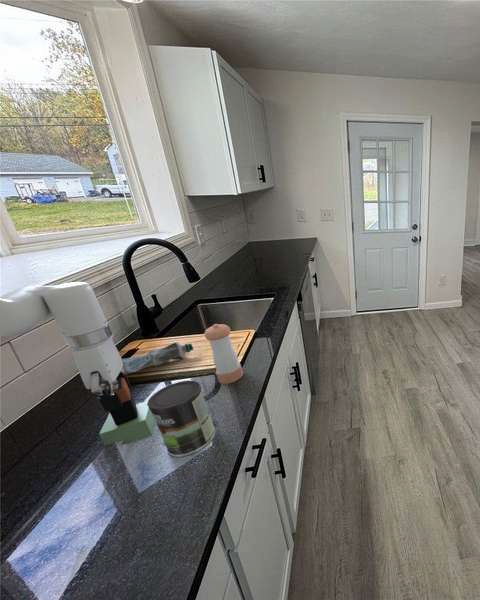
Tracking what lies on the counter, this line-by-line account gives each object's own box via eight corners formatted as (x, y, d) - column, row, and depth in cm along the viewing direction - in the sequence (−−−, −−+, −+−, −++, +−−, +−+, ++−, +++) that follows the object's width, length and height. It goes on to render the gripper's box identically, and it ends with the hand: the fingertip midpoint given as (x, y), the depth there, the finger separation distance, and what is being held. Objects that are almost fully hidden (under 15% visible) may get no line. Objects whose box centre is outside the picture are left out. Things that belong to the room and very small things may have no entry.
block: (107, 450, 76) (98, 434, 74) (117, 426, 83) (110, 411, 82) (152, 435, 80) (145, 419, 78) (158, 413, 87) (152, 399, 85)
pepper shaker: (228, 370, 106) (212, 319, 99) (247, 371, 105) (233, 319, 98) (213, 383, 99) (195, 329, 92) (234, 384, 98) (218, 330, 91)
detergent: (104, 390, 99) (195, 362, 110) (94, 370, 96) (188, 344, 108) (113, 373, 110) (195, 349, 121) (105, 355, 107) (190, 332, 119)
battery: (116, 427, 76) (100, 393, 72) (115, 413, 81) (99, 381, 77) (138, 417, 79) (124, 384, 75) (136, 405, 83) (122, 373, 80)
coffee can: (188, 462, 71) (168, 413, 66) (157, 451, 75) (136, 403, 69) (225, 429, 80) (210, 384, 75) (196, 421, 84) (180, 377, 78)
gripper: (82, 326, 77) (110, 385, 83) (49, 358, 62) (86, 427, 69) (120, 318, 80) (145, 376, 87) (98, 348, 66) (129, 414, 72)
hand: (119, 398), depth 78 cm, fingers closed on battery, 7 cm apart
